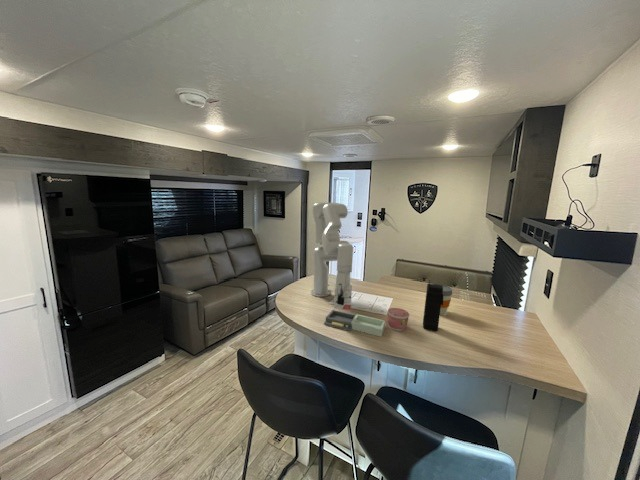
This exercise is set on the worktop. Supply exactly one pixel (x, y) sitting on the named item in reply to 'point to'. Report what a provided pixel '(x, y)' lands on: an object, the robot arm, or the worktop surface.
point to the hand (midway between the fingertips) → (342, 301)
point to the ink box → (346, 299)
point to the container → (397, 318)
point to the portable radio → (432, 306)
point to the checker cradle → (339, 320)
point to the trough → (368, 325)
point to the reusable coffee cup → (445, 298)
